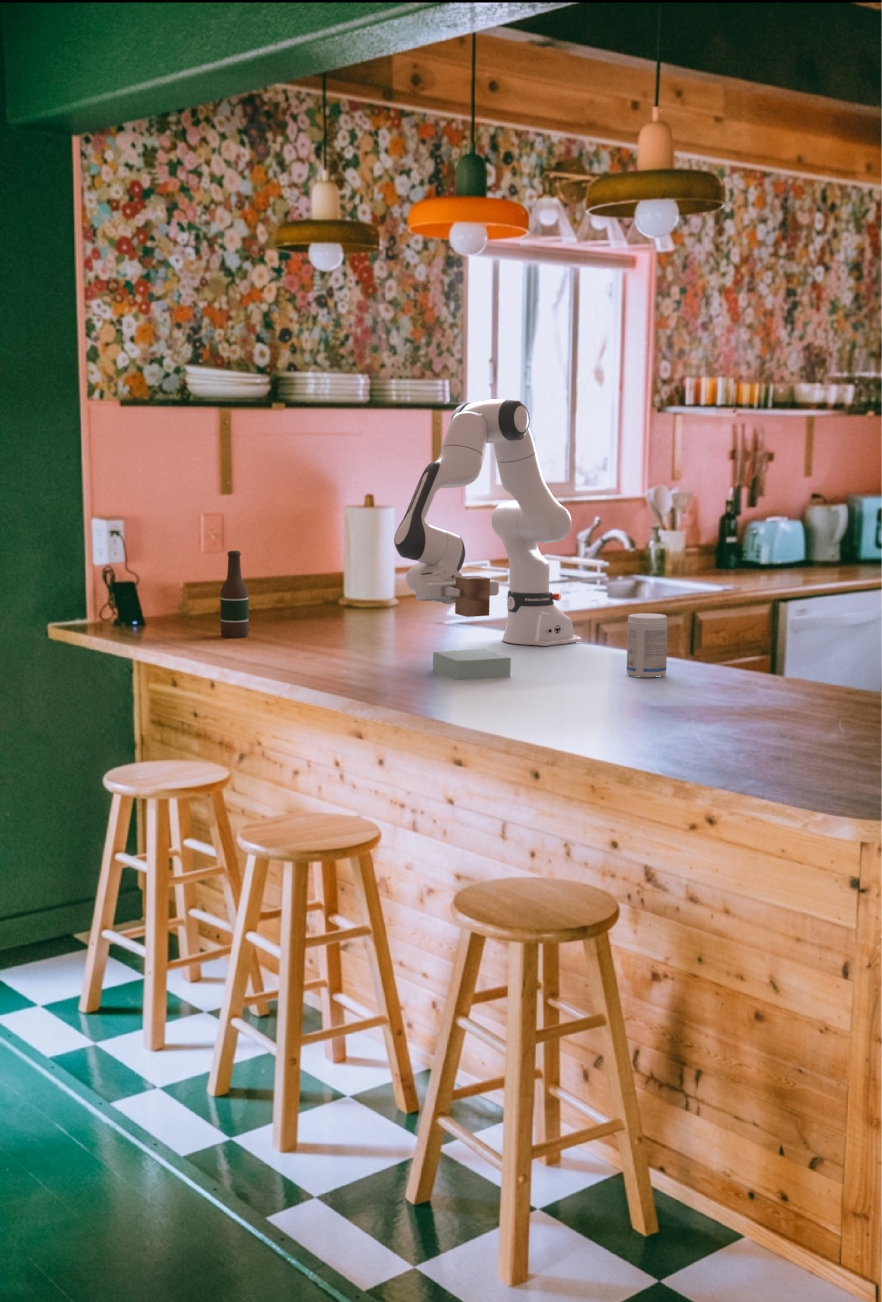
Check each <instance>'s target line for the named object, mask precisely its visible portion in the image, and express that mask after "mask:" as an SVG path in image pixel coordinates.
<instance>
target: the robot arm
mask: <svg viewBox="0 0 882 1302" xmlns="http://www.w3.org/2000/svg"><path fill="white" fill-rule="evenodd" d="M530 424H531V423H530V413H529V411H528V408H527V407H526V405H525V404H524V403H523V402H522V401H520V400H517V399H514V398H513V399H511V398H508V399H487V400H485V401H484V400H483V401H477V402H467V403H463V404H461V405H459V406H457V407H456V408H455V409H454V411H453V413H452V415H451V418H450V423H449V426H448V429H447V430H446V434H445V436H444V439H443V443H442V448H441V452H440V454H439V456H438V458H437V460H436V461H432V462H430V463H429V464H428V465H427V466H426V467H425V468H424V470H423V471H422V474H421V476H420V478H419V479H418V480H419V481H418V483H417V485H416V487H415V490H414V492H413V495H412V498H411V500H410V503H409V505H408V507H407V509H406V512H405V514H404V516H403V519H402V520H401V522H400V524H399V526H398V528H397V530H396V531H395V533H394V539H393V543H394V546H395V549H396V551H397V553H398V554H399V556H400V557H401V558H404V559H407V560H411V561H417V562H418V563H417V564H414V565H413V566H411V567H409V569H408V570H407V573H406V576H405V579H406V580H405V581H406V585H407V587H408V589H409V590H410V592H412V593H413V594H414V595H415V599H416V600H417V601H419V602H422V601H423V602H435V603H440V604H444V605H451V604H452V605H453V604H455V596H463V589H461V588H456V577H457V576H463V575H462V573H461V572H460V571H461V569H462V567H463V565H464V562H465V558H466V548H465V543H464V541H463V539H462V537H461V536H460V535H458V534H456V533H452V532H450V531H448V530H445V529H442V528H439V527H437V526H434V525H431V524H429V523H428V522H427V519H426V517H427V515H428V513H429V510H430V506H431V504H432V502H433V500H434V497H435V494H436V493H437V491H438V490H440V489H450V488H451V489H453V488H454V489H455V488H462V487H465V486H468V485H471V484H472V483H474V482H475V481H476V480H477V478H479V476H480V473H481V471H482V469H483V463H484V458H485V454H486V447H487V446H486V445H487V444H492V443H493V448H494V455H495V460H496V464H497V469H498V474H499V477H500V482H501V485H502V487H503V489H504V490H505V491H506V492H507V493H509V494H510V495H511V496H512V497H513V498H514V500H513V501H512V500H511V501H507V502H506V501H505V502H503V503H499V504H498V505H497V506H496V507H495V508H494V510H493V512H492V514H491V527H492V529H493V531H494V533H495V534H496V536H498V537H499V539H500V540H501V541H502V544H503V546H504V548H505V551H506V555H507V559H508V566H509V588H508V591H507V603H506V604H507V618H506V623H505V624H506V625H505V629H504V633H503V636H502V639H501V640H502V642H505V643H508V644H509V643H510V644H516V645H529V646H531V645H533V646H542V647H545V646H546V647H547V646H555V645H556V646H557V645H562V644H573V643H580V642H582V637H580V635H579V636H578V635H575V634H574V626H573V622H572V619H571V618H570V617H569V616H568V615H567V614H565V613H564V612H563V611H562V610H561V609H560V608H558V607H557V606H556V605H555V602H554V601H557V602H558V601H560V600H561V599H562V595H561V593H557V592H555V593H552V592H551V591H550V564H549V561H548V560H547V559H546V558H545V557H544V556H543V555H542V554H541V551H540V549H539V546H538V544H537V543H539V544H540V543H542V544H551V543H557V542H562V541H563V540H565V539H566V538H567V537H568V536H569V535H570V532H571V529H572V516H571V514H570V512H569V511H568V509H567V508H566V507H564V506H563V505H561V504H560V503H559V502H558V500H557V499H556V498H555V497H554V496H553V494H552V492H551V491H550V489H549V487H548V486H547V484H546V482H545V479H544V477H543V474H542V470H541V467H540V462H539V458H538V454H537V449H536V445H535V441H534V438H533V435H532V432H531V430H530ZM499 588H500V583H499V581H498V580H495V579H490V596H498V595H499V591H500V589H499Z"/></svg>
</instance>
